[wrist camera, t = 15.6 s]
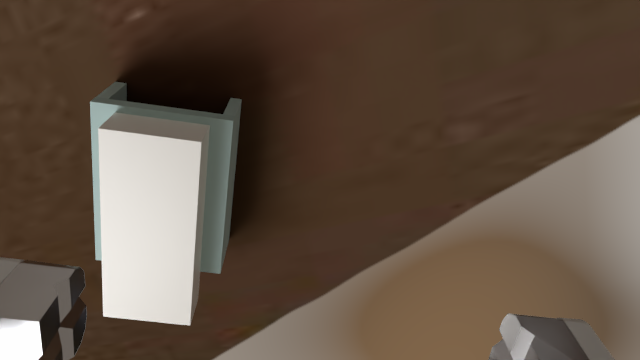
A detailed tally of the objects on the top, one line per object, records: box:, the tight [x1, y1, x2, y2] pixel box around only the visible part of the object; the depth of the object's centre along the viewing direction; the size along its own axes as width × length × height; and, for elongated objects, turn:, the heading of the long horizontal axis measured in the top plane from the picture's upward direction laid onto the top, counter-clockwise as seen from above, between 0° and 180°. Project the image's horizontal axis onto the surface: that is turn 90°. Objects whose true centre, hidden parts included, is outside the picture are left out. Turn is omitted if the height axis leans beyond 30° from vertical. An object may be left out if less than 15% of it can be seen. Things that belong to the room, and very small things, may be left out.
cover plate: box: [98, 112, 210, 325], centre depth 35 cm, size 6×14×3 cm, turn 171°
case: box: [90, 82, 242, 274], centre depth 38 cm, size 9×12×5 cm
